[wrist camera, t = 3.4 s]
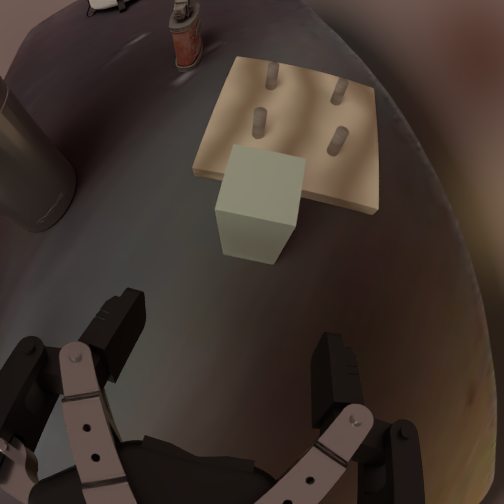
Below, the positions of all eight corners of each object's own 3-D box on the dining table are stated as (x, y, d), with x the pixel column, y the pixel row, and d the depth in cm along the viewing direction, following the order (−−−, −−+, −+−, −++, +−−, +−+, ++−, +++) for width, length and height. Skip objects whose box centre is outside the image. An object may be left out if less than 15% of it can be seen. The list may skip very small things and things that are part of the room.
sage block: (273, 264, 25) (295, 226, 16) (223, 254, 25) (214, 209, 16) (282, 217, 26) (305, 158, 17) (234, 207, 26) (233, 144, 17)
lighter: (197, 71, 31) (191, 9, 21) (172, 72, 31) (160, 12, 21) (205, 40, 33) (202, -14, 23) (183, 41, 33) (176, -12, 23)
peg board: (194, 176, 27) (186, 146, 22) (236, 64, 32) (237, 35, 27) (372, 215, 27) (395, 194, 22) (369, 95, 32) (383, 70, 27)
